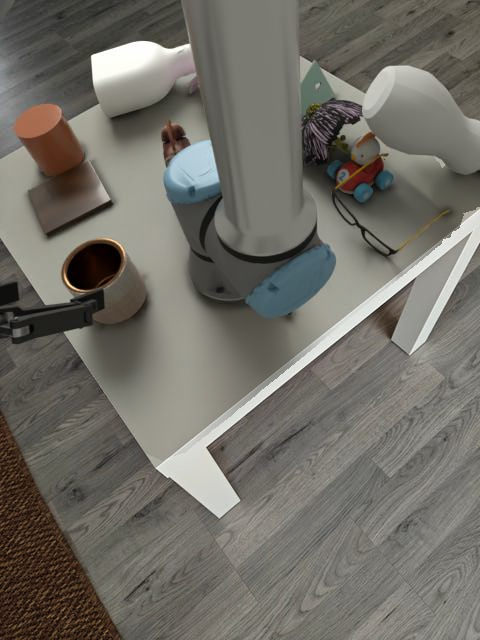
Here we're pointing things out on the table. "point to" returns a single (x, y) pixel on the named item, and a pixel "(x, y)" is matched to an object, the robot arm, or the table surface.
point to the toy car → (374, 172)
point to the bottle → (137, 75)
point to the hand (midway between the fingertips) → (58, 294)
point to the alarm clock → (173, 140)
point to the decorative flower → (326, 129)
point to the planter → (105, 278)
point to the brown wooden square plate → (69, 198)
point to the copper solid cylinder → (49, 139)
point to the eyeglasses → (362, 228)
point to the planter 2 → (310, 92)
